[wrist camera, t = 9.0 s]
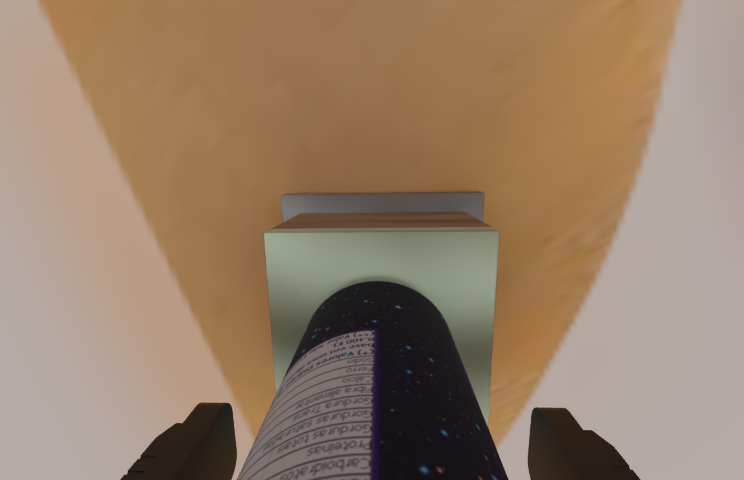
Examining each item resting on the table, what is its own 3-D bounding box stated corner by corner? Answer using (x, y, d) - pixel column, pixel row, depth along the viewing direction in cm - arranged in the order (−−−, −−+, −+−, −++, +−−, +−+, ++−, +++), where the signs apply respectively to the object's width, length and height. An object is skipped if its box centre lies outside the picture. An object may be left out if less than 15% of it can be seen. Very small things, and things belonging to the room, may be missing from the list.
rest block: (286, 194, 21) (236, 207, 14) (479, 191, 20) (527, 204, 13) (297, 367, 23) (258, 454, 16) (471, 368, 22) (509, 458, 15)
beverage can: (323, 408, 15) (128, 1222, 4) (295, 284, 14) (-133, 890, 2) (455, 391, 15) (722, 1237, 3) (438, 262, 14) (762, 856, 2)
